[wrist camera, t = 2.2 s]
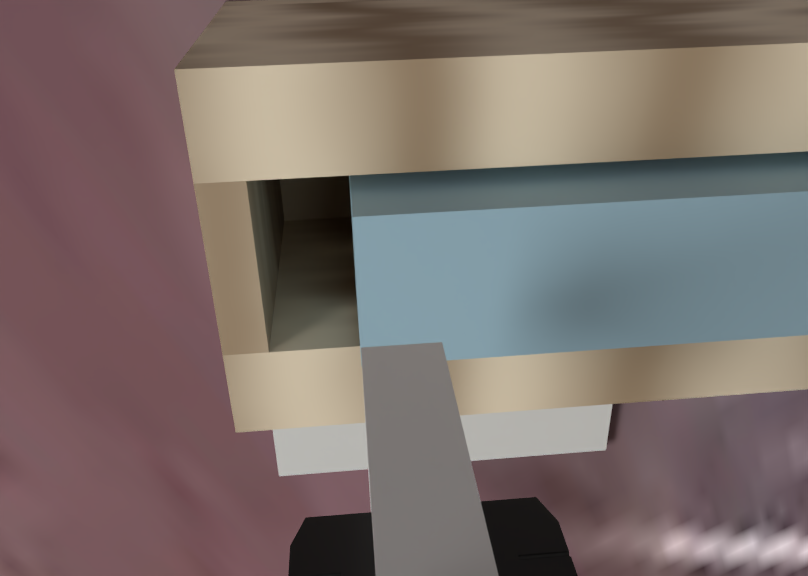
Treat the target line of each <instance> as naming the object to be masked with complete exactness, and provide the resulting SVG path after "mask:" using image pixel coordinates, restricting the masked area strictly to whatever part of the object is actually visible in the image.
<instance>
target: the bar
mask: <svg viewBox="0 0 808 576" xmlns="http://www.w3.org/2000/svg"><path fill="white" fill-rule="evenodd" d="M349 183H350V200H351V216H352V233H353V249H354V266H355V282H356V297H357V311H358V325H359V338H360V352H361V347H377V346H392V345H407V344H422V343H437V342H442V344H443V348H444V352H445V356H446V360H460V359H474V358H488V357H503V356H517V355H531V354H545V353H559V352H574V351H588V350H602V349H616V348H630V347H645V346H659V345H673V344H687V343H701V342H716V341H730V340H744V339H758V338H773V337H787V336H801V335H808V151H805V152H786V153H767V154H748V155H729V156H710V157H691V158H672V159H653V160H634V161H615V162H596V163H577V164H558V165H539V166H520V167H501V168H482V169H463V170H444V171H425V172H406V173H387V174H368V175H349ZM361 366H362V357H361Z"/></svg>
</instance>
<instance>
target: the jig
mask: <svg viewBox="0 0 808 576" xmlns="http://www.w3.org/2000/svg"><path fill="white" fill-rule="evenodd" d="M174 71H175V76H176V82H177V88H178V94H179V100H180V106H181V112H182V118H183V124H184V130H185V135H186V141H187V147H188V153H189V159H190V165H191V171H192V177H193V183H194V189H195V195H196V200H197V206H198V212H199V218H200V224H201V230H202V236H203V242H204V248H205V254H206V259H207V265H208V271H209V277H210V283H211V289H212V295H213V301H214V307H215V313H216V318H217V324H218V330H219V336H220V342H221V348H222V354H223V360H224V366H225V372H226V377H227V383H228V389H229V395H230V401H231V407H232V413H233V419H234V425H235V431H236V432H249V431H262V430H275V429H288V428H302V427H315V426H328V425H341V424H354V423H365V407H364V390H363V373H362V366H361V352H360V338H359V325H358V311H357V297H356V282H355V266H354V249H353V233H352V216H351V200H350V183H349V175H368V174H387V173H406V172H425V171H444V170H463V169H482V168H501V167H520V166H539V165H558V164H577V163H596V162H615V161H634V160H653V159H672V158H691V157H710V156H729V155H748V154H767V153H786V152H805V151H808V0H250V1H226V2H225V3H224V4H223V6H222V7H221V8H220V10H219V11H218V12H217V14H216V15H215V16H214V18H213V19H212V20H211V22H210V23H209V24H208V26H207V27H206V28H205V30H204V31H203V32H202V34H201V35H200V36H199V38H198V39H197V40H196V41H195V43H194V44H193V45H192V47H191V48H190V49H189V51H188V52H187V53H186V55H185V56H184V57H183V59H182V60H181V61H180V63H179V64H178V65H177V67H176V68H175V69H174ZM447 364H448V369H449V373H450V377H451V381H452V385H453V389H454V393H455V398H456V402H457V406H458V410H459V414H460V415H473V414H487V413H500V412H513V411H526V410H539V409H553V408H566V407H579V406H592V405H606V404H619V403H632V402H645V401H658V400H672V399H685V398H698V397H711V396H725V395H738V394H751V393H764V392H777V391H791V390H804V389H808V335H801V336H787V337H773V338H758V339H744V340H730V341H716V342H701V343H687V344H673V345H659V346H645V347H630V348H616V349H602V350H588V351H574V352H559V353H545V354H531V355H517V356H503V357H488V358H474V359H460V360H447Z"/></svg>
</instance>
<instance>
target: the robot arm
mask: <svg viewBox="0 0 808 576" xmlns="http://www.w3.org/2000/svg"><path fill="white" fill-rule="evenodd" d="M361 357H362V373H363V390H364V407H365V424H366V441H367V458H368V473H369V489H370V504H371V512H370V513H358V514H345V515H333V516H321V517H308V518H305V520H304V522H303V524H302V525H301V527H300V529H299V531H298V533H297V534H296V536H295V538H294V540H293V542H292V544H291V545H290V560H289V576H577V573H576V570H575V567H574V564H573V561H572V559H571V557H570V556H569V550H568V547H567V545H566V542H565V539H564V536H563V533H562V530H561V528H560V525H559V522H558V521H557V519H556V518H555V517H554V516H553V515H552V514H551V513H550V512H549V511H548V510H547V509H546V508H545V506H544V505H543V504H542V503H541V502H540V501H539V500H538V499H537V498H536V497H532V498H519V499H507V500H495V501H482V502H481V501H480V497H479V493H478V489H477V484H476V480H475V476H474V472H473V468H472V464H471V460H470V455H469V451H468V447H467V443H466V439H465V435H464V431H463V427H462V422H461V418H460V414H459V410H458V406H457V402H456V398H455V393H454V389H453V385H452V381H451V377H450V373H449V369H448V364H447V360H446V356H445V352H444V348H443V344H442V342H437V343H422V344H407V345H392V346H377V347H361Z"/></svg>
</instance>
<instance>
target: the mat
mask: <svg viewBox="0 0 808 576" xmlns="http://www.w3.org/2000/svg"><path fill="white" fill-rule="evenodd" d="M611 411H612V404H606V405H592V406H579V407H566V408H553V409H539V410H526V411H513V412H500V413H487V414H473V415H460V418H461V422H462V427H463V431H464V435H465V439H466V443H467V447H468V451H469V455H470V460H471V461H475V460H487V459H500V458H512V457H525V456H537V455H550V454H562V453H575V452H587V451H600V450H606V445H607V439H608V432H609V425H610V418H611ZM273 436H274V443H275V450H276V457H277V465H278V472H279V476H287V475H300V474H312V473H325V472H337V471H350V470H362V469H368V458H367V441H366V424H365V423H354V424H341V425H328V426H315V427H302V428H288V429H275V430H273Z"/></svg>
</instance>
